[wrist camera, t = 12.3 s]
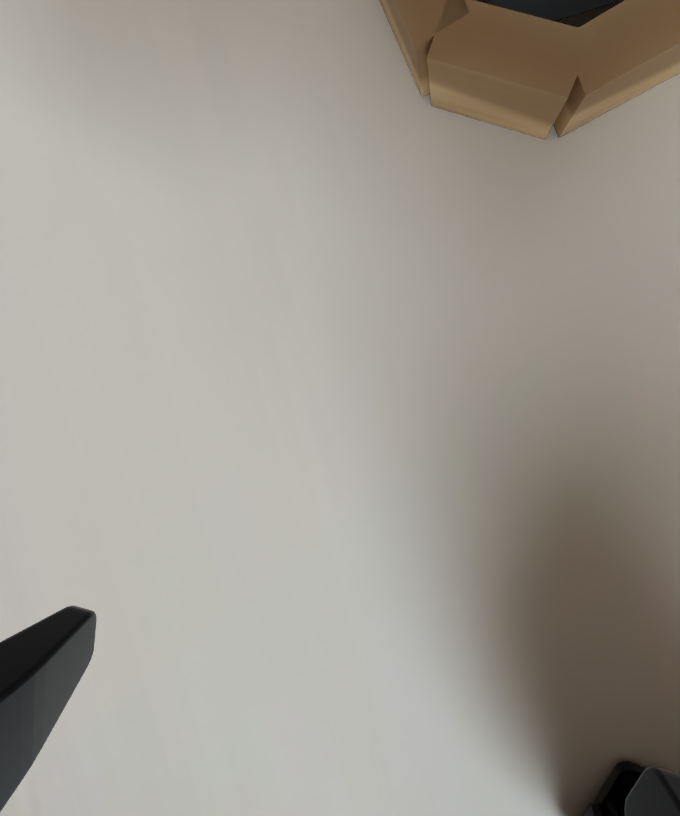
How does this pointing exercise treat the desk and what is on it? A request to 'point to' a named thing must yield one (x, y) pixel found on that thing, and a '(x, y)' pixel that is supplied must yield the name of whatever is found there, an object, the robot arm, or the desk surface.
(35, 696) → the robot arm
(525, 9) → the light blue block
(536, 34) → the octagonal cardboard ring
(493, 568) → the desk surface
